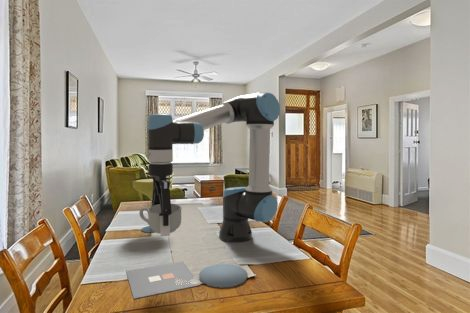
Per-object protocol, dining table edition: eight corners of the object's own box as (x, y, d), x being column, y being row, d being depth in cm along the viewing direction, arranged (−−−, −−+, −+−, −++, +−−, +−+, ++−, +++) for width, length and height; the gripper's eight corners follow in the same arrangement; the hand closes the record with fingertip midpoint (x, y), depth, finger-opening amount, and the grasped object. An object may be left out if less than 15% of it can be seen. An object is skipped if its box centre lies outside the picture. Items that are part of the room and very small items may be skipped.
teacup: (187, 228, 105) (187, 204, 104) (170, 238, 94) (170, 212, 94) (152, 224, 109) (151, 201, 109) (132, 233, 99) (132, 208, 99)
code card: (126, 271, 107) (126, 270, 107) (182, 261, 115) (182, 261, 115) (133, 299, 89) (133, 298, 89) (200, 285, 97) (200, 284, 97)
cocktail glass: (166, 235, 146) (165, 182, 144) (127, 234, 146) (127, 182, 144) (174, 224, 164) (174, 177, 162) (140, 224, 164) (139, 176, 162)
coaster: (192, 270, 107) (192, 268, 107) (234, 263, 114) (234, 261, 114) (209, 292, 93) (209, 289, 93) (255, 281, 100) (255, 279, 100)
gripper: (142, 160, 108) (143, 222, 110) (155, 166, 87) (156, 243, 89) (164, 159, 111) (164, 220, 113) (181, 165, 91) (182, 239, 92)
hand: (161, 230), depth 101 cm, fingers closed on teacup, 11 cm apart
